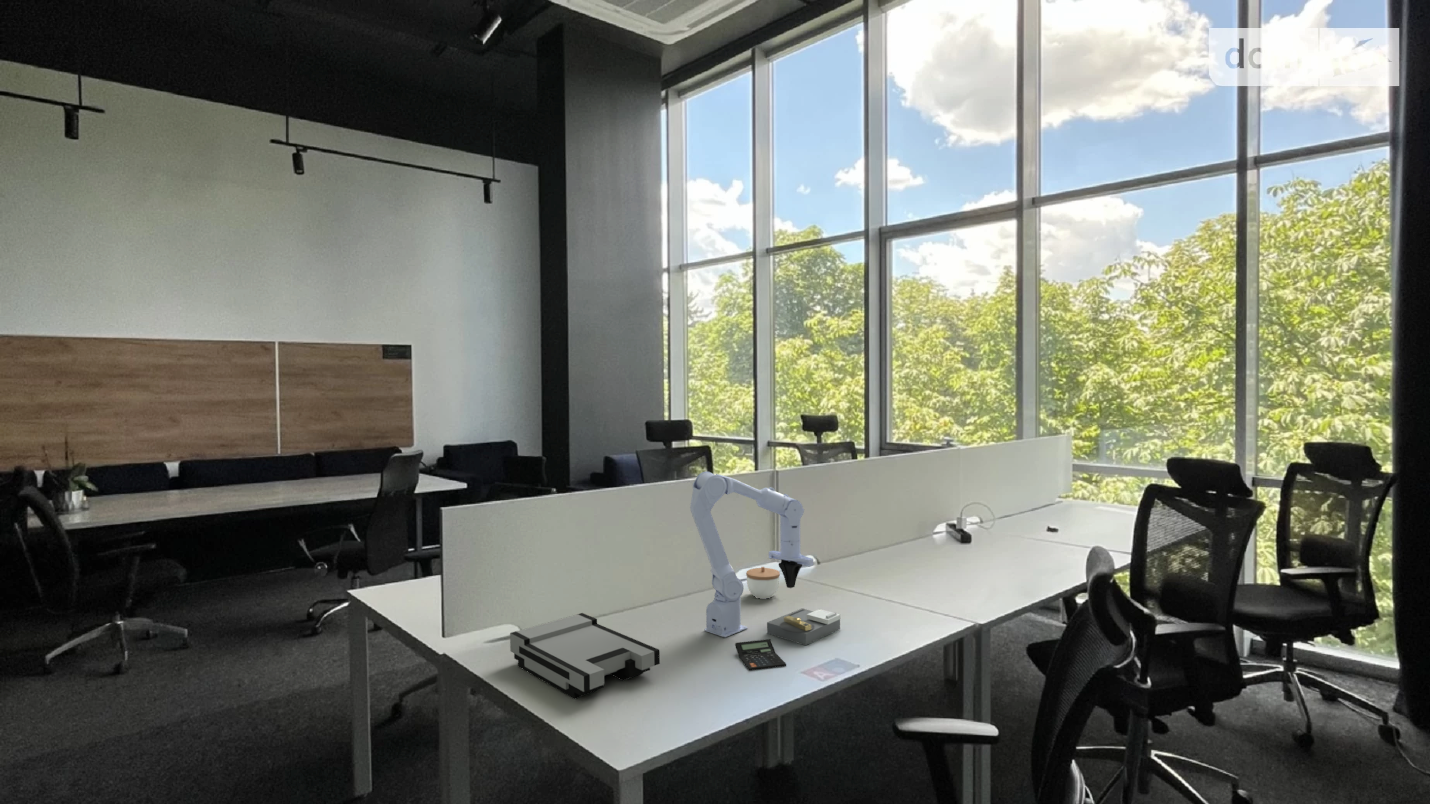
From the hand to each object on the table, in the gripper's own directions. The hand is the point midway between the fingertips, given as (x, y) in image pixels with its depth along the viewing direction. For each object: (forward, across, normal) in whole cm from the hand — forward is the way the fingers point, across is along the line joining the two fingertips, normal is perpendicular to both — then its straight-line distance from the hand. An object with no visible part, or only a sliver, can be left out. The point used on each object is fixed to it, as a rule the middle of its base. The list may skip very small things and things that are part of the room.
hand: (790, 587), depth 200 cm
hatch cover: (+7, -11, 0) cm, 13 cm away
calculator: (+10, -11, +27) cm, 31 cm away
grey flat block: (+10, -8, +4) cm, 13 cm away
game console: (+10, +16, +61) cm, 64 cm away
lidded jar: (+10, +21, -13) cm, 27 cm away
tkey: (+7, -9, +9) cm, 14 cm away
